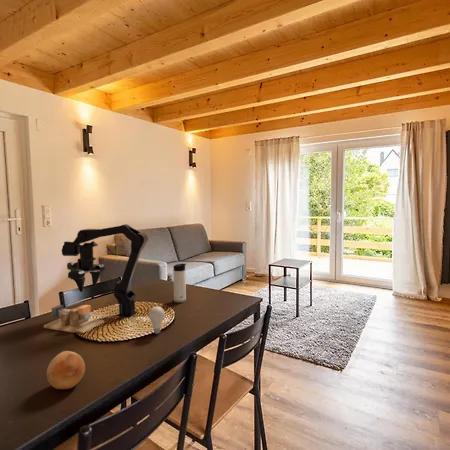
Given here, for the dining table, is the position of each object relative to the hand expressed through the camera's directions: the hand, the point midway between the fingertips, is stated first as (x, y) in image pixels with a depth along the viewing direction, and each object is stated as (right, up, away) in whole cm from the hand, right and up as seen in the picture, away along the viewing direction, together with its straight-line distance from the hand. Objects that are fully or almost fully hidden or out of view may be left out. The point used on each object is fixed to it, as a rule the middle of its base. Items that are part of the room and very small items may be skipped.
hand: (87, 288), depth 145 cm
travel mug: (+41, -11, +19) cm, 46 cm away
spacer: (+5, -7, -14) cm, 17 cm away
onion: (+19, -16, -57) cm, 62 cm away
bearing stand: (0, -13, -12) cm, 18 cm away
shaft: (-2, -10, -12) cm, 16 cm away
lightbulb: (+37, -14, -22) cm, 45 cm away
